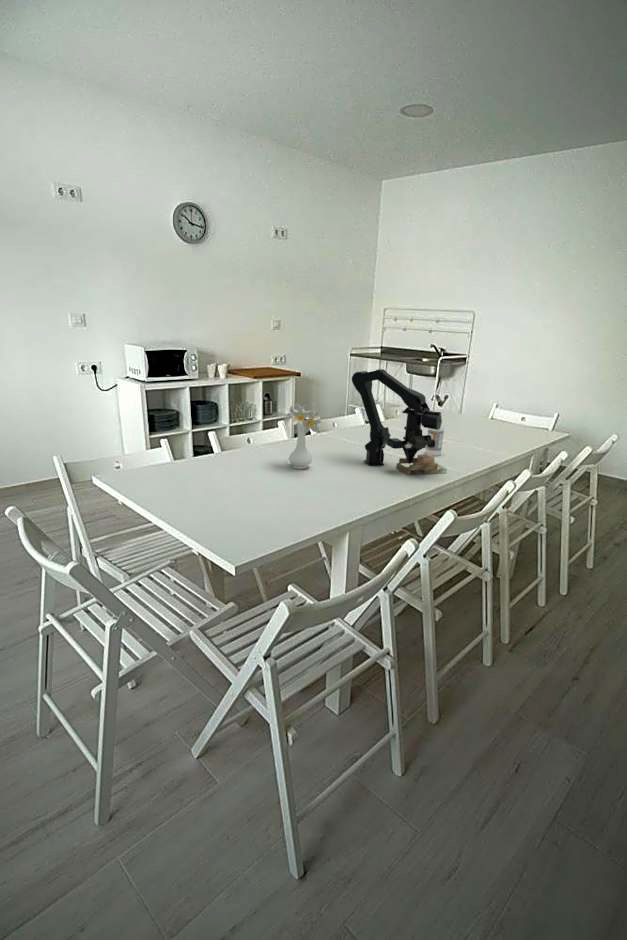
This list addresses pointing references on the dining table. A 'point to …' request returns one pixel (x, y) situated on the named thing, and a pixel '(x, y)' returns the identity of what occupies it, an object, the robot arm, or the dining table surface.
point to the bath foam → (438, 438)
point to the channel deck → (420, 467)
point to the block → (425, 459)
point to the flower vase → (302, 434)
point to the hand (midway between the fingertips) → (409, 463)
